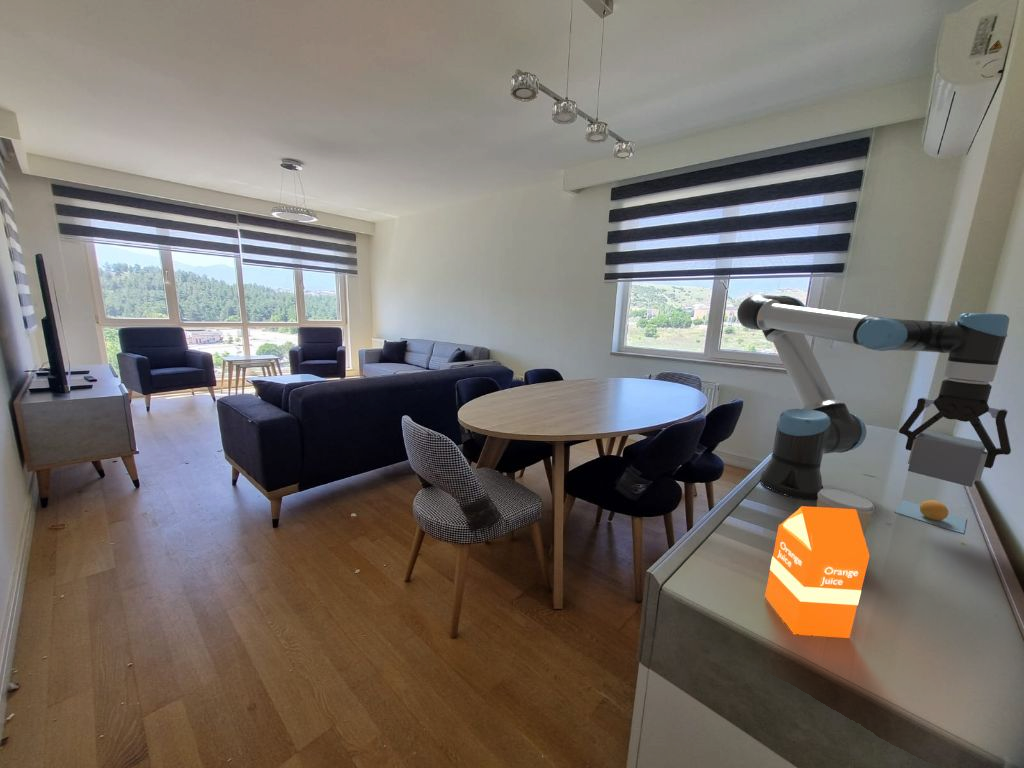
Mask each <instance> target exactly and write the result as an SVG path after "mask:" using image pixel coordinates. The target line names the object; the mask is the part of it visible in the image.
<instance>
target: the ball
mask: <svg viewBox="0 0 1024 768" xmlns="http://www.w3.org/2000/svg"><path fill="white" fill-rule="evenodd" d="M919 505H920V511H921V513H922V514H923V515H924V516H925V517H926V518H928V519H931V520H936V521H939V520H943V519H945V518H946V517H947V516H948V513H949V509H948V507H947V506H946V505H945V504H944V503H942V502H939V501H938V500H933V499H930V500H924V501H922V502H921V503H920V504H919Z"/></svg>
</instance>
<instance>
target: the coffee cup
mask: <svg viewBox="0 0 1024 768" xmlns="http://www.w3.org/2000/svg"><path fill="white" fill-rule="evenodd" d="M817 496H818V499H816V501H817V502H816V507H823V508H840V509H856V511H857V515H858V518H859V522H860V525H861V528H862V532H863V535H864V537H865V535H866V534H867V532H868V531H867V530H868V528H869V524H870V522H871V518H872V515H873V514H874V512H875V506H874V503H873V502H871V501H870V500H869V499H867V498H865V497H863V496H862V495H859V494H857V493H854V492H851V491H847V490H843V489H837V488H831V487H829V488H828V487H827V488H824V489H821V490H820V492H818V495H817Z"/></svg>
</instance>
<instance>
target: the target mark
mask: <svg viewBox="0 0 1024 768" xmlns="http://www.w3.org/2000/svg"><path fill="white" fill-rule="evenodd" d="M920 505H921V504H917V503H914V502H910V501H907V500H904V499H902V500H901V501H900V503H899V505H898V507H897V508H896V510H895V512H894V513H895V514H898V515H901V516H904V517H908V518H911V519H914V520H918V521H920V522H924V523H926V524H930V525H932V526H936V527H939V528H943V529H945V530H948V531H952V532H955V533H958V534H962V535H964V534H965V529H966V524H967V518H965V517H962V516H958V515H955V514H952V513H949V512H948V516H947V517H946V518H945V519H943V520H939V521H936V520H931V519H928V518H926V517H925V516H924V515H923V514H922V513H921V511H920Z"/></svg>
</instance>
